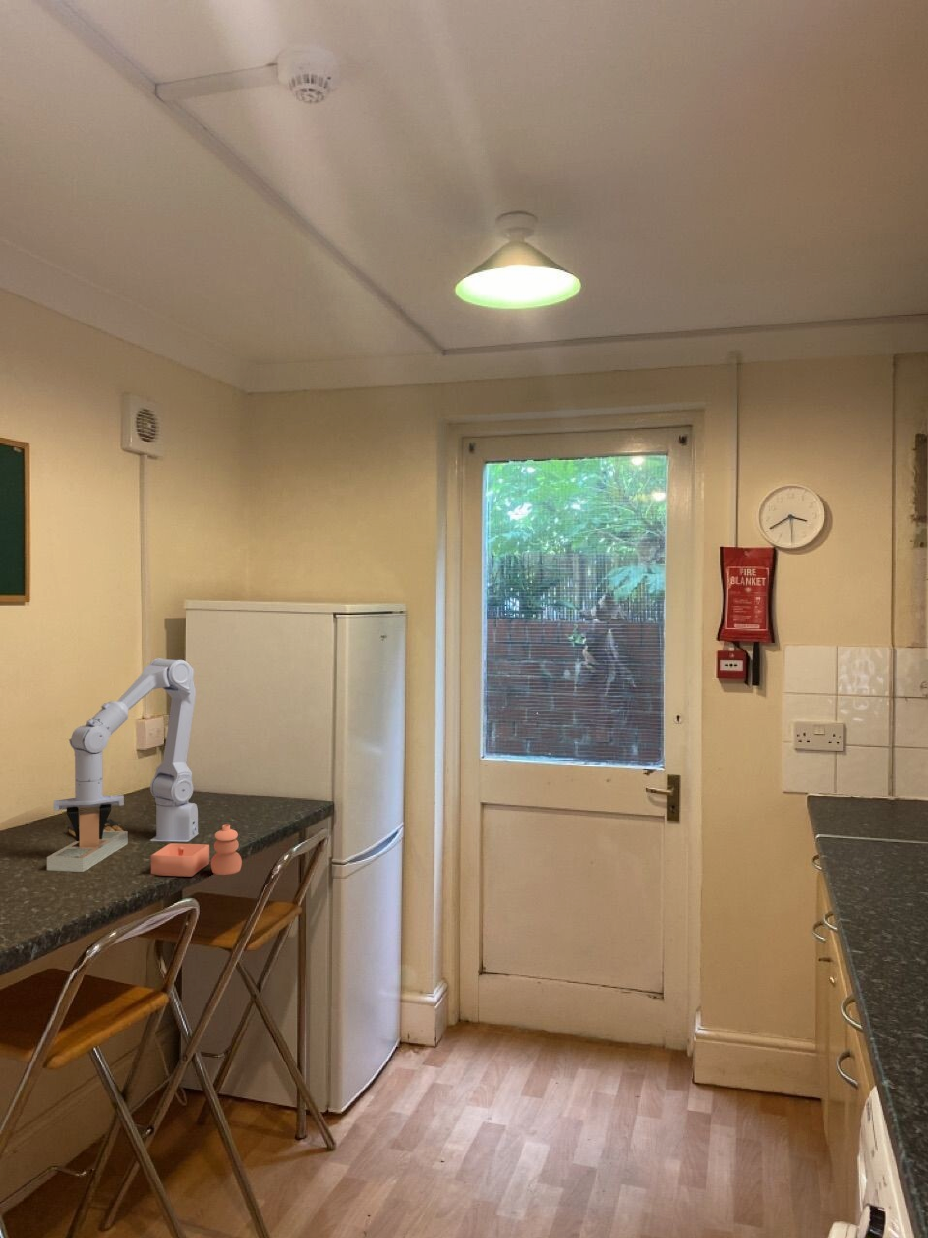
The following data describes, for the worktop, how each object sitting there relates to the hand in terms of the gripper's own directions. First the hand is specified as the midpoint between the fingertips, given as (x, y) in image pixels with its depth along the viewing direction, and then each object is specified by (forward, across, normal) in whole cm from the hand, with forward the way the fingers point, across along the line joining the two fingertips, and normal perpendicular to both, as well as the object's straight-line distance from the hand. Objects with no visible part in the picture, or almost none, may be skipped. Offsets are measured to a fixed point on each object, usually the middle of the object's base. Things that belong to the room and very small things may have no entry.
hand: (89, 839), depth 203 cm
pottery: (+4, -22, +19) cm, 29 cm away
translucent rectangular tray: (+4, 0, 0) cm, 4 cm away
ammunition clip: (+3, 0, -24) cm, 24 cm away
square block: (+3, 0, 0) cm, 3 cm away
